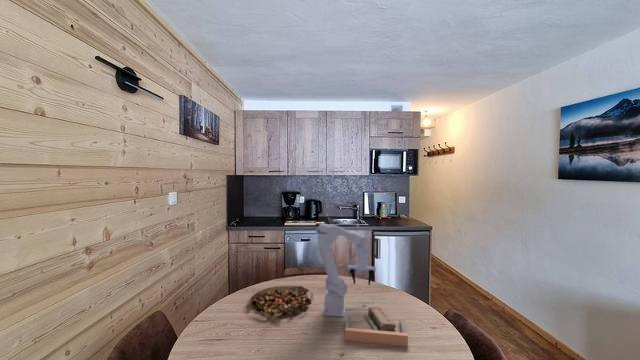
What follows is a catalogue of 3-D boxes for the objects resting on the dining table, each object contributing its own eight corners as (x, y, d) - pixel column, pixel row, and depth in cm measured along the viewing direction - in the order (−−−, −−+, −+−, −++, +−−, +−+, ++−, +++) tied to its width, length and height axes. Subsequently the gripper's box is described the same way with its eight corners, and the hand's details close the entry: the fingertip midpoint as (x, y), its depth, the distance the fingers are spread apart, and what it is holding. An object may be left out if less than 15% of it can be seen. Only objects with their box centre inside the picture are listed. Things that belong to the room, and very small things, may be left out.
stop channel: (344, 340, 109) (344, 330, 109) (347, 319, 125) (347, 311, 125) (407, 346, 105) (407, 335, 105) (402, 324, 121) (402, 315, 121)
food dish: (298, 329, 120) (298, 311, 119) (235, 318, 130) (234, 302, 130) (322, 294, 153) (322, 280, 153) (270, 288, 163) (270, 275, 163)
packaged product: (364, 306, 129) (384, 304, 130) (364, 316, 129) (384, 314, 130) (377, 326, 111) (400, 324, 112) (377, 338, 111) (400, 336, 112)
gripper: (375, 256, 146) (375, 281, 146) (348, 255, 149) (348, 280, 149) (375, 260, 139) (375, 287, 139) (347, 259, 142) (347, 285, 142)
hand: (361, 283), depth 143 cm, fingers open, 7 cm apart
